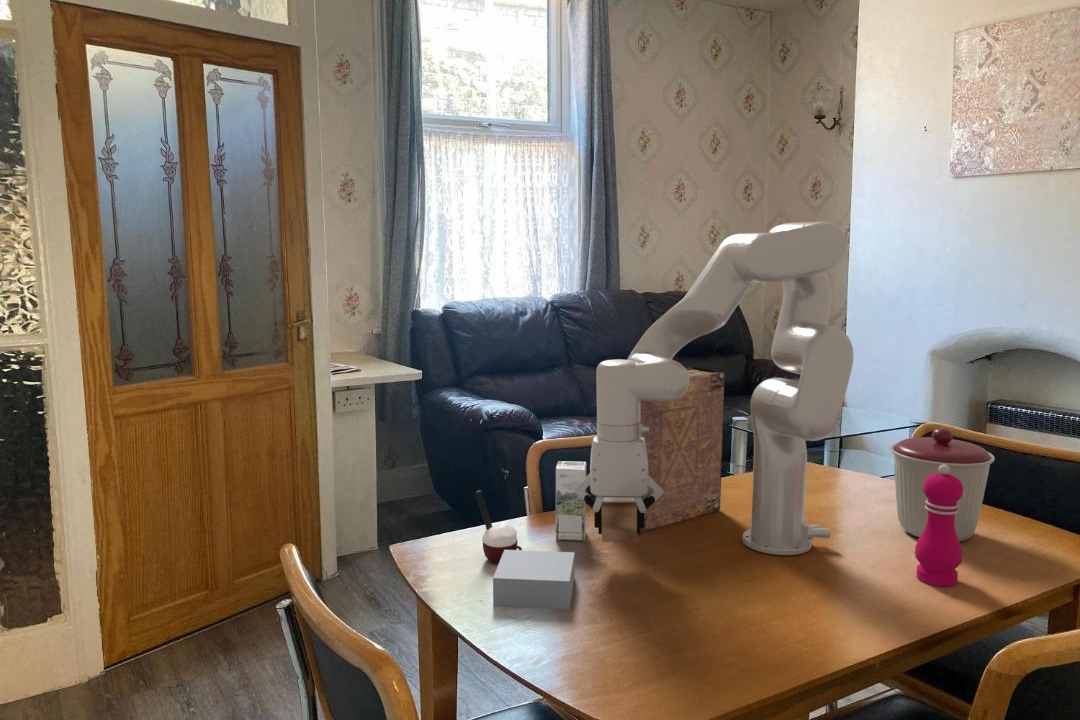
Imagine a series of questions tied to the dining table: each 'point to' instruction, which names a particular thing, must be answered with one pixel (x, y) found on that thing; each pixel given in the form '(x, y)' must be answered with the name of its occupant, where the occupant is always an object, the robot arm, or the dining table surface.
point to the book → (685, 450)
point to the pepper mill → (940, 530)
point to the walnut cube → (619, 520)
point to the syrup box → (570, 501)
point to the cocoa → (496, 535)
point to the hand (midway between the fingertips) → (619, 530)
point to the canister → (925, 458)
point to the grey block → (534, 579)
